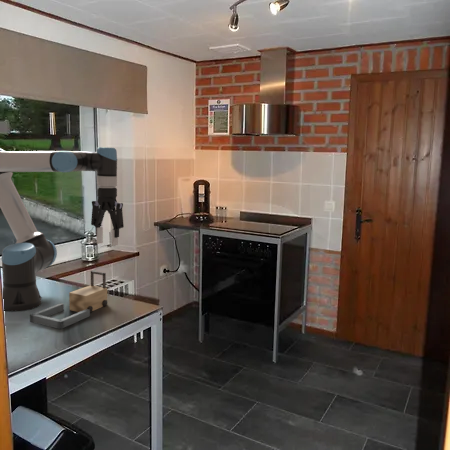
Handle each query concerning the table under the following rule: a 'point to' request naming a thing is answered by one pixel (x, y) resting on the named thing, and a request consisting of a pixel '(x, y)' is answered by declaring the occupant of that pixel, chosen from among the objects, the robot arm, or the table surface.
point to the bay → (43, 319)
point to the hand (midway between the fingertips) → (107, 244)
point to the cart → (89, 296)
